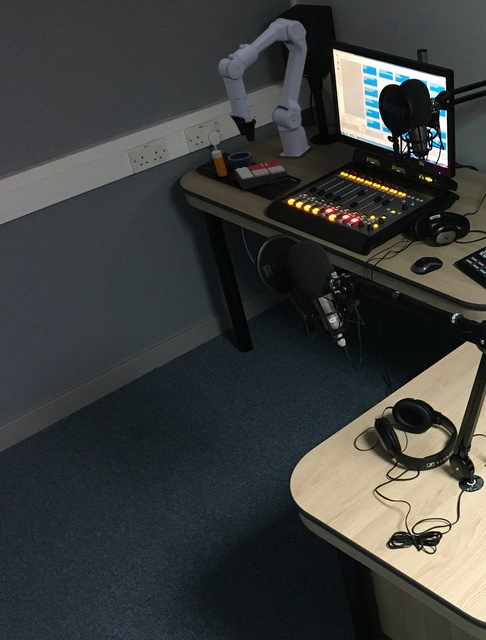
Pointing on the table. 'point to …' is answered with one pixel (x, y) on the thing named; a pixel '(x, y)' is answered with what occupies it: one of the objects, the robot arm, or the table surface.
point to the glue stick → (219, 163)
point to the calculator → (259, 174)
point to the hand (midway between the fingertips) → (248, 138)
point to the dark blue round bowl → (240, 159)
